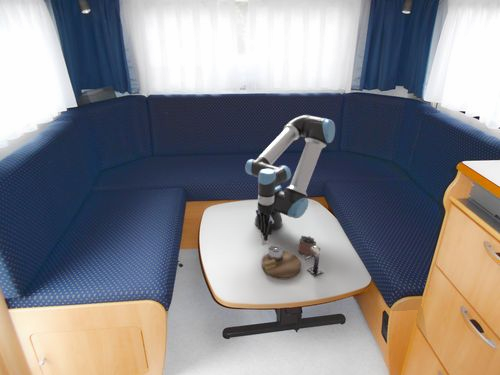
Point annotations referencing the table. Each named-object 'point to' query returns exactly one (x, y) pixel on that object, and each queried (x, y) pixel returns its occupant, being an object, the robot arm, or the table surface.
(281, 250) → the cover
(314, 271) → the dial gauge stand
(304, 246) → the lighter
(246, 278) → the table surface
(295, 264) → the turntable
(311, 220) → the table surface
